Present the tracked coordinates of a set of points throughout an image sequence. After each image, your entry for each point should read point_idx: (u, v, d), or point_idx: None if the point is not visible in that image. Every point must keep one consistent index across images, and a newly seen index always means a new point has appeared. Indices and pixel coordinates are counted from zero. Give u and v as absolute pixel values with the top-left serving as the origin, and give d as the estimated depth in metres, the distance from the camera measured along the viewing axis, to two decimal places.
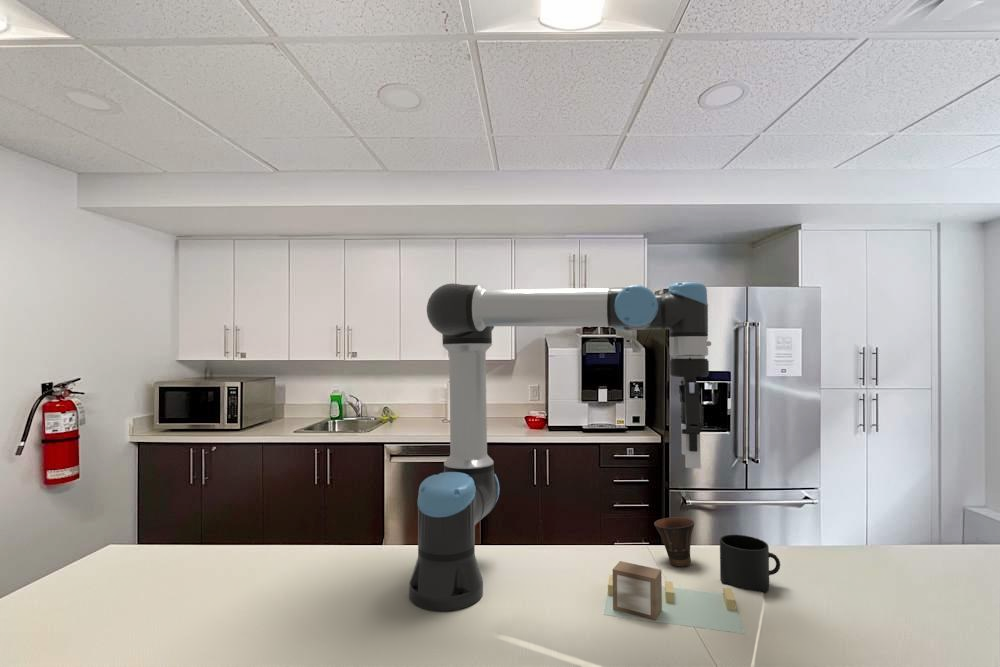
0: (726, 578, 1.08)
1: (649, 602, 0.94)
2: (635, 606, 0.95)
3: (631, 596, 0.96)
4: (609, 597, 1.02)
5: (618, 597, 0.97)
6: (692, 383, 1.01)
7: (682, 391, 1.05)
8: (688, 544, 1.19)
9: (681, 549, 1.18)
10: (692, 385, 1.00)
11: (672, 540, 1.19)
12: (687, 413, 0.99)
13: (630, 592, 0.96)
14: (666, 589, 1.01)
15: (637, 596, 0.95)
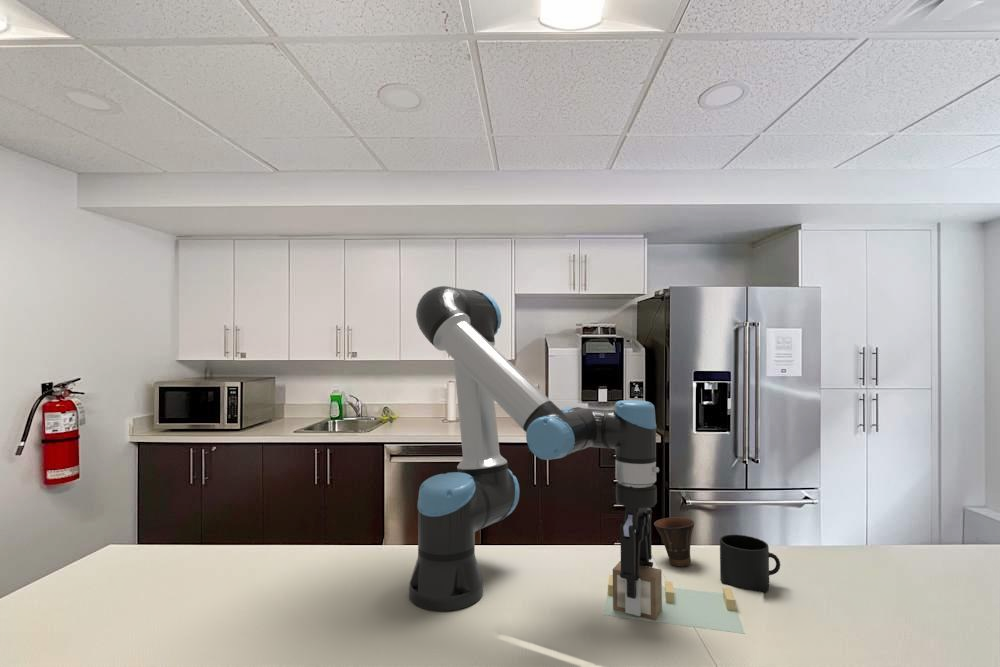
0: (726, 578, 1.08)
1: (649, 602, 0.94)
2: None
3: None
4: (609, 597, 1.02)
5: (618, 597, 0.97)
6: (626, 528, 0.92)
7: (625, 523, 0.97)
8: (688, 544, 1.19)
9: (681, 549, 1.18)
10: (626, 530, 0.92)
11: (672, 540, 1.19)
12: (621, 559, 0.93)
13: None
14: (666, 589, 1.01)
15: None
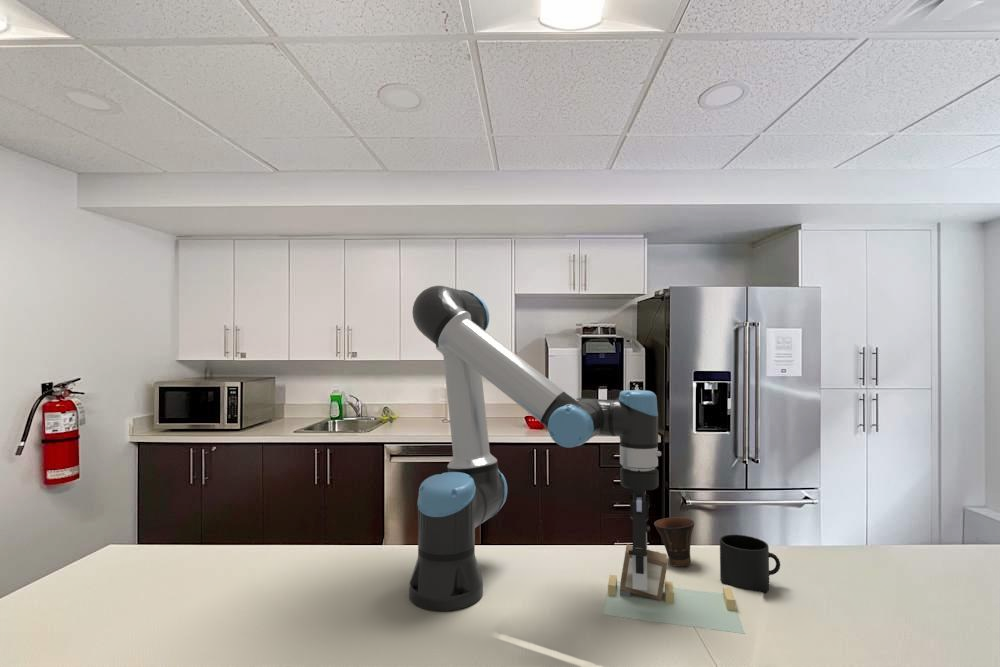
0: (726, 578, 1.08)
1: (657, 584, 1.01)
2: None
3: None
4: (609, 597, 1.02)
5: (627, 578, 1.02)
6: (639, 501, 0.98)
7: (631, 504, 1.03)
8: (688, 544, 1.19)
9: (681, 549, 1.18)
10: (639, 504, 0.98)
11: (672, 540, 1.19)
12: (633, 535, 0.97)
13: None
14: (666, 589, 1.01)
15: (647, 578, 1.01)
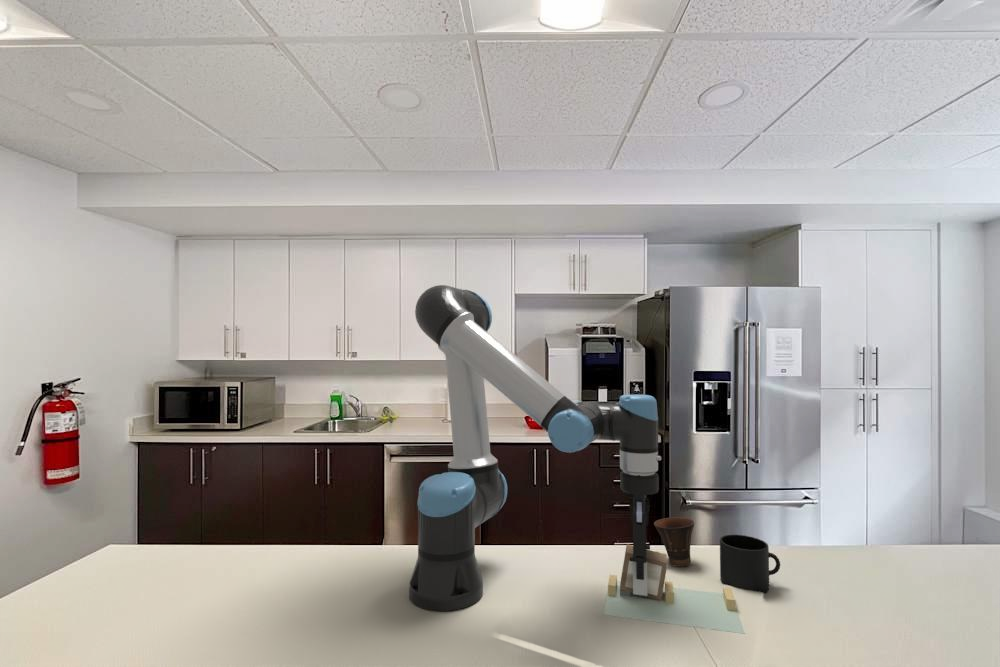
0: (726, 578, 1.08)
1: (657, 584, 1.01)
2: None
3: None
4: (609, 597, 1.02)
5: (627, 578, 1.02)
6: (639, 514, 0.98)
7: (631, 510, 1.03)
8: (688, 544, 1.19)
9: (681, 549, 1.18)
10: (639, 516, 0.98)
11: (672, 540, 1.19)
12: (634, 544, 0.99)
13: None
14: (666, 589, 1.01)
15: (647, 578, 1.01)
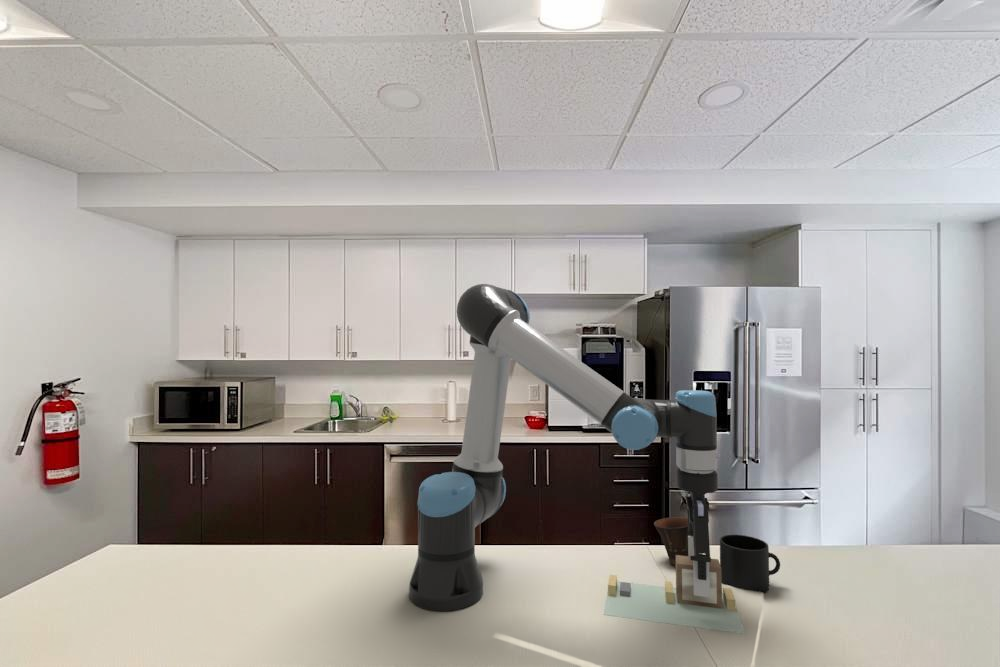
0: (726, 578, 1.08)
1: (715, 591, 0.98)
2: (701, 597, 0.99)
3: None
4: (609, 597, 1.02)
5: (683, 590, 1.00)
6: (701, 505, 0.95)
7: (690, 507, 1.00)
8: None
9: (681, 549, 1.18)
10: (701, 508, 0.95)
11: (672, 540, 1.19)
12: (696, 540, 0.94)
13: None
14: (666, 589, 1.01)
15: None
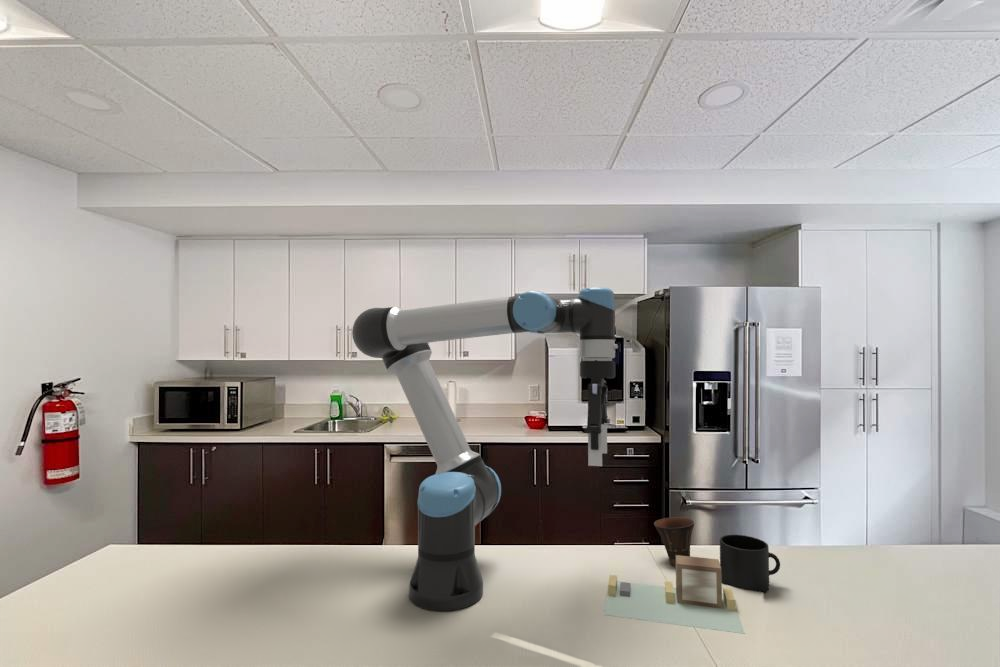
0: (726, 578, 1.08)
1: (715, 591, 0.98)
2: (701, 597, 0.99)
3: (696, 588, 0.99)
4: (609, 597, 1.02)
5: (683, 590, 1.00)
6: (595, 384, 1.05)
7: None
8: (688, 544, 1.19)
9: (681, 549, 1.18)
10: (595, 386, 1.05)
11: (672, 540, 1.19)
12: (588, 413, 1.03)
13: (696, 584, 0.99)
14: (666, 589, 1.01)
15: (703, 587, 0.99)
